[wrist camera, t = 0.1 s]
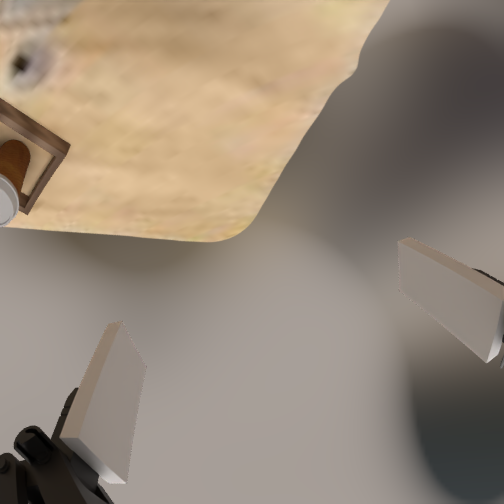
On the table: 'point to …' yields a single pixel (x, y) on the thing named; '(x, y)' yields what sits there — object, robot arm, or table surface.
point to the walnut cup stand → (41, 138)
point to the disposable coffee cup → (11, 178)
